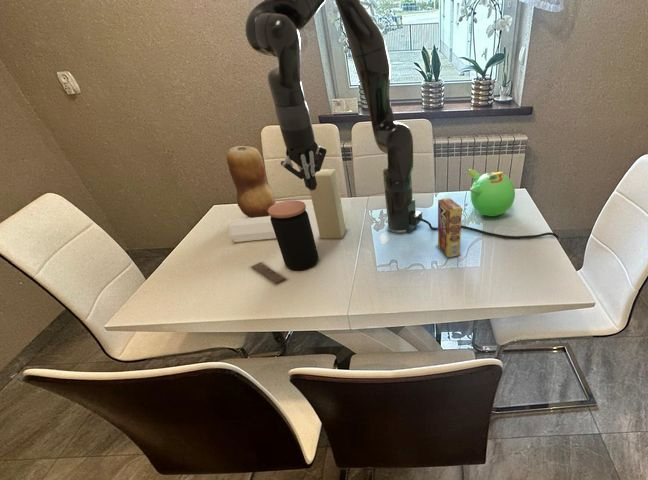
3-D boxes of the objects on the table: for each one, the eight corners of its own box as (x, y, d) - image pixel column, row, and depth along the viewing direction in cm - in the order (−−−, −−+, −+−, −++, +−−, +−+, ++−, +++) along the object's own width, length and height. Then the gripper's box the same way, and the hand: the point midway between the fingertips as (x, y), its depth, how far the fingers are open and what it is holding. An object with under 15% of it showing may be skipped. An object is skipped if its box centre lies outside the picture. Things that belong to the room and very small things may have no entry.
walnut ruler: (285, 279, 113) (285, 278, 112) (276, 284, 111) (276, 282, 111) (261, 263, 121) (260, 262, 120) (252, 267, 119) (251, 266, 119)
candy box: (460, 255, 119) (462, 207, 108) (448, 258, 118) (448, 210, 107) (449, 243, 125) (450, 197, 114) (437, 246, 124) (437, 199, 113)
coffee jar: (325, 257, 122) (312, 201, 110) (308, 274, 115) (292, 216, 102) (297, 253, 125) (281, 198, 112) (278, 269, 117) (259, 213, 105)
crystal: (222, 236, 128) (293, 229, 129) (223, 218, 130) (293, 212, 131) (232, 248, 135) (300, 242, 136) (233, 231, 137) (299, 225, 138)
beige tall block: (347, 229, 136) (336, 167, 122) (342, 238, 131) (330, 175, 117) (326, 229, 137) (312, 168, 123) (320, 238, 132) (305, 176, 118)
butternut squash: (278, 222, 144) (256, 150, 127) (242, 227, 142) (215, 155, 125) (280, 208, 154) (259, 140, 137) (246, 212, 152) (221, 144, 135)
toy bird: (516, 222, 134) (522, 179, 124) (468, 224, 135) (470, 181, 125) (508, 202, 147) (512, 162, 137) (464, 204, 148) (466, 164, 138)
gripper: (309, 108, 94) (324, 174, 108) (262, 125, 89) (284, 192, 103) (326, 118, 91) (339, 185, 105) (278, 136, 86) (299, 204, 100)
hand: (312, 188), depth 104 cm, fingers closed
